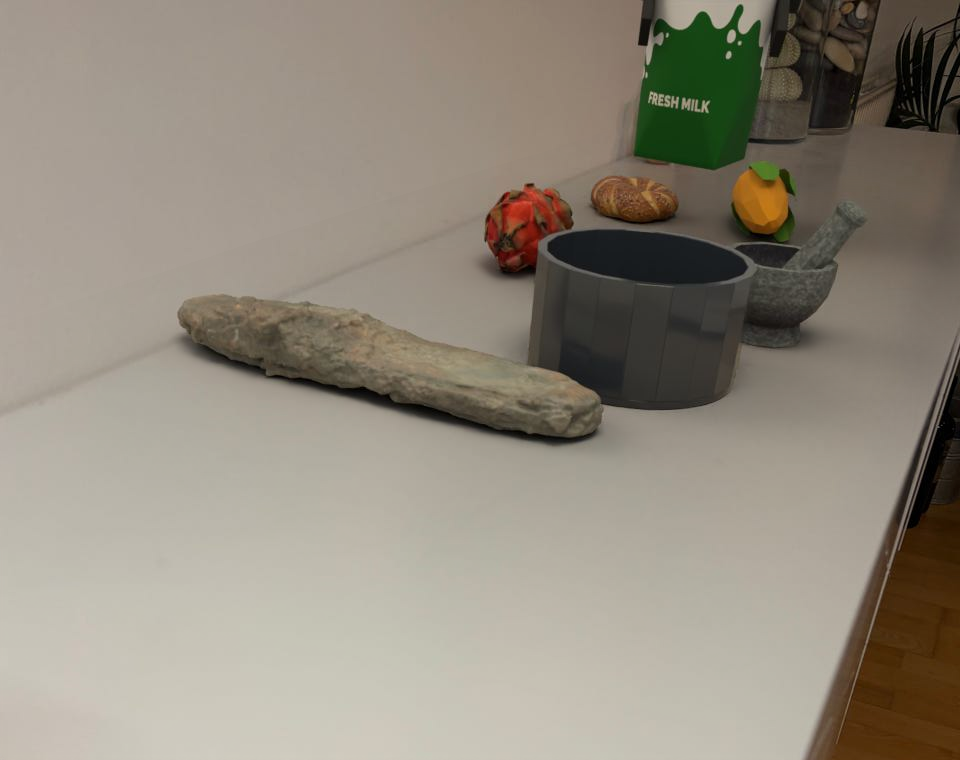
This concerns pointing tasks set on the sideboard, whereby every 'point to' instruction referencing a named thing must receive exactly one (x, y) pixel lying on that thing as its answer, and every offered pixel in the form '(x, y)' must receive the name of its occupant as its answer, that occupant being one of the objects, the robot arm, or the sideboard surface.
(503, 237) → the dragon fruit
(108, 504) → the sideboard surface
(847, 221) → the mortar and pestle
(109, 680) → the sideboard surface
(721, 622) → the sideboard surface
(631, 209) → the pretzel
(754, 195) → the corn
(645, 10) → the robot arm
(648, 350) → the pot
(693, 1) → the milk carton
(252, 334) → the long grey stone
